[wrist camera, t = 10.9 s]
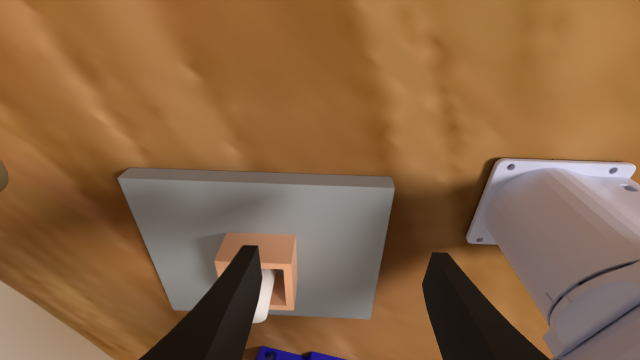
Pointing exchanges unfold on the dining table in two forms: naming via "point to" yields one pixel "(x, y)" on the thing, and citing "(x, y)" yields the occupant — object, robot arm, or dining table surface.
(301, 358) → the cable clip
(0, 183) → the cork
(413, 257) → the dining table surface
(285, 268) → the collar
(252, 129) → the dining table surface
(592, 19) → the dining table surface
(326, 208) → the post board
